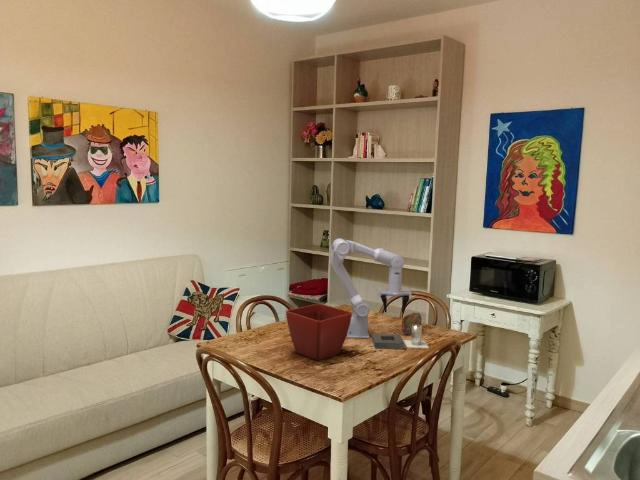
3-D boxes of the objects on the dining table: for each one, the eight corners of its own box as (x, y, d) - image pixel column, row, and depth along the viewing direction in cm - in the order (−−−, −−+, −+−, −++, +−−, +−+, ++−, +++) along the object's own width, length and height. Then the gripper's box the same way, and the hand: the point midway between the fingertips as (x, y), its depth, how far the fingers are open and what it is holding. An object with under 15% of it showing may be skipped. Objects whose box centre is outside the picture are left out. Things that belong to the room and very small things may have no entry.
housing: (374, 348, 210) (374, 342, 210) (371, 339, 222) (372, 333, 222) (404, 349, 210) (404, 343, 210) (399, 339, 222) (399, 334, 222)
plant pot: (352, 353, 203) (353, 312, 201) (318, 365, 190) (319, 321, 188) (318, 342, 217) (318, 303, 215) (284, 352, 203) (284, 310, 201)
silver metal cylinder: (412, 345, 214) (413, 326, 213) (410, 342, 218) (411, 323, 216) (422, 345, 214) (422, 326, 213) (419, 342, 218) (420, 323, 217)
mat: (407, 348, 212) (407, 347, 212) (403, 341, 221) (403, 340, 221) (429, 348, 212) (429, 347, 212) (424, 341, 221) (424, 340, 221)
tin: (406, 336, 227) (407, 318, 226) (400, 335, 229) (400, 316, 228) (421, 329, 239) (422, 311, 238) (415, 327, 241) (416, 310, 240)
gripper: (379, 283, 222) (378, 314, 224) (413, 284, 222) (412, 314, 224) (377, 280, 229) (377, 310, 231) (410, 280, 229) (409, 310, 231)
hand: (394, 312), depth 228 cm, fingers open, 7 cm apart
